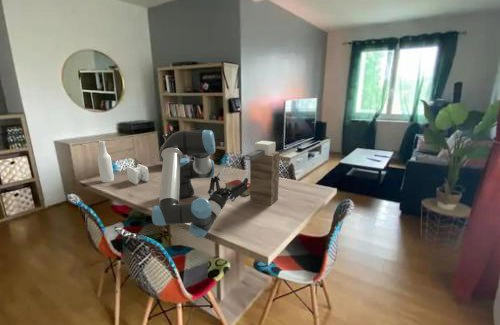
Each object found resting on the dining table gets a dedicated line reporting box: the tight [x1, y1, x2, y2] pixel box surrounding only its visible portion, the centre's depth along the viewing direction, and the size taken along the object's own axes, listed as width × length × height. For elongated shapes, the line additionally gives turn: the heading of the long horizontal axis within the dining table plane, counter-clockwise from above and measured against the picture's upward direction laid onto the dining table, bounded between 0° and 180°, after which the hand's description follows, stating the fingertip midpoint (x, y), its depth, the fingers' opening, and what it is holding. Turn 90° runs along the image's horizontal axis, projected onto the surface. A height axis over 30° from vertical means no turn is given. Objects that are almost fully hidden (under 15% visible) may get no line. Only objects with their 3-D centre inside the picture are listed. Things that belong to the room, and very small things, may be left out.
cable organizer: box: [126, 163, 150, 186], centre depth 194 cm, size 15×11×12 cm
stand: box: [249, 151, 280, 206], centre depth 158 cm, size 10×14×30 cm
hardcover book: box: [224, 178, 250, 196], centre depth 179 cm, size 12×21×4 cm, turn 49°
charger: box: [244, 140, 276, 161], centre depth 147 cm, size 25×9×6 cm, turn 150°
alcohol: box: [96, 140, 115, 184], centre depth 192 cm, size 9×9×30 cm
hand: (236, 171), depth 130 cm, fingers open, 13 cm apart
